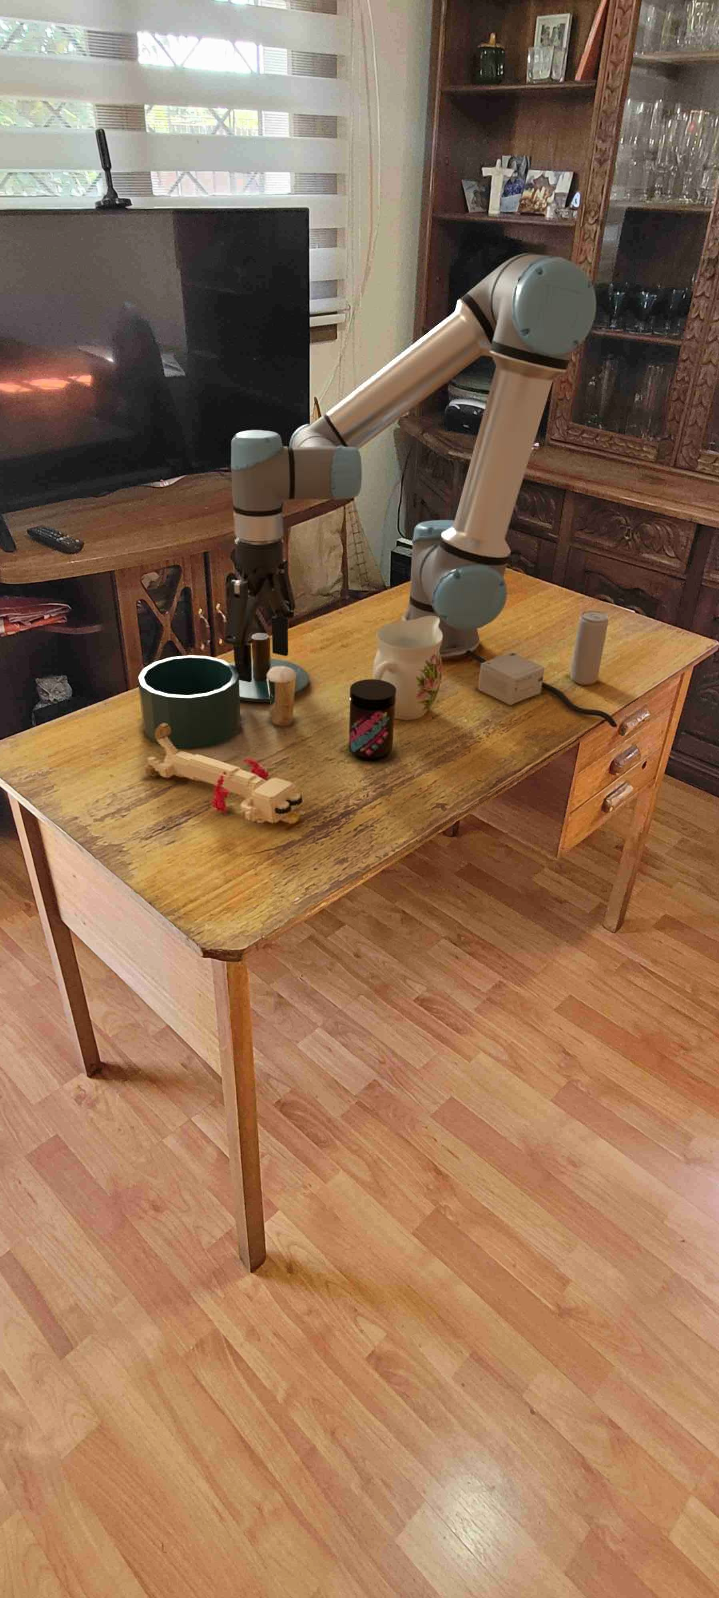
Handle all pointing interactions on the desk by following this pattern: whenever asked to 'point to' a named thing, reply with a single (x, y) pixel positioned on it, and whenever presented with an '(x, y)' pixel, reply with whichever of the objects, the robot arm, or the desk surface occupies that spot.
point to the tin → (191, 700)
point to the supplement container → (371, 719)
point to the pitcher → (410, 663)
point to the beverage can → (588, 647)
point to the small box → (510, 678)
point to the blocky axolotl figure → (230, 782)
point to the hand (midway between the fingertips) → (262, 666)
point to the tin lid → (266, 671)
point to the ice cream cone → (281, 694)
